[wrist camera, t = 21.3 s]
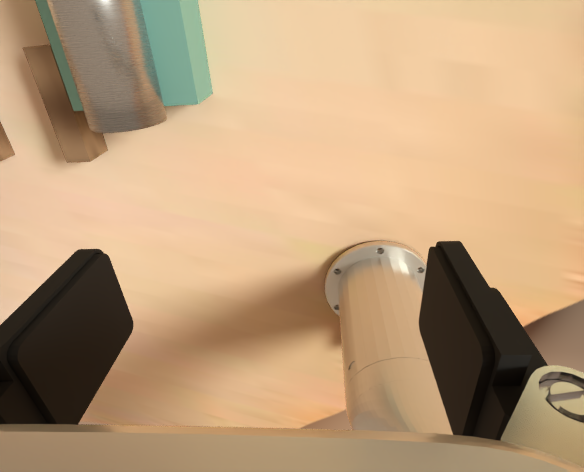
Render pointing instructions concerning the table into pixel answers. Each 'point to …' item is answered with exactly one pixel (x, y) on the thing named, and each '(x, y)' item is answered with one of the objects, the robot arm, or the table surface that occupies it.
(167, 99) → the teal V-block
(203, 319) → the table surface
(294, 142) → the table surface
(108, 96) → the steel axle
